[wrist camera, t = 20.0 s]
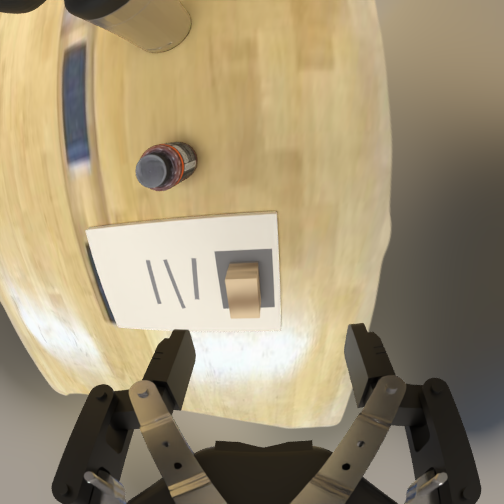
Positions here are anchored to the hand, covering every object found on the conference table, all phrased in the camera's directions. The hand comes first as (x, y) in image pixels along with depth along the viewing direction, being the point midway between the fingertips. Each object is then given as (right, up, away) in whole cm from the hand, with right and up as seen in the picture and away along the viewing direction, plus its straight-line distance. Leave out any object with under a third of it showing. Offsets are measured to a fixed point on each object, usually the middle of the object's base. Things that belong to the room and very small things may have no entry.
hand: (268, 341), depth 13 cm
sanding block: (-2, 0, +32) cm, 32 cm away
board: (-13, 0, +34) cm, 36 cm away
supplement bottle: (-12, +18, +26) cm, 34 cm away
